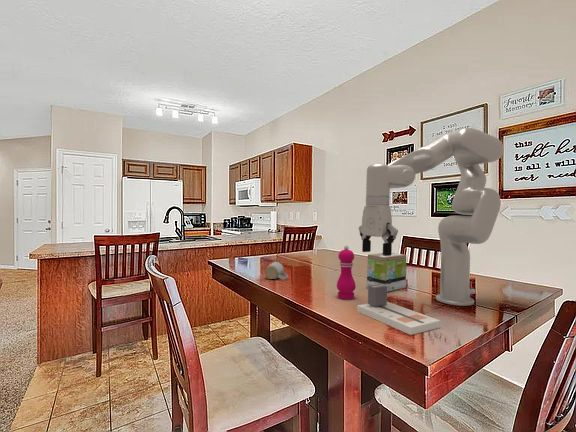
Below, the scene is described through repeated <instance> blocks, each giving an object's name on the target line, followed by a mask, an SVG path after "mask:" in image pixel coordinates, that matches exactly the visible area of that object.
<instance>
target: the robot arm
mask: <svg viewBox="0 0 576 432" xmlns="http://www.w3.org/2000/svg"><path fill="white" fill-rule="evenodd" d="M504 149H505V147H504V144H503V142H502V141H501V140H500V138H498V137H496V136H493V135H491V134H489V133H487V132H484V131H482V130H480V129H476V128H473V127H462V128H459V129H456V130H451V131H448V132H446V133H443V134H441V135H440V136H438V137H436V138H435V139H432V140H431V141H430V142H428V143H426V144H425V145H423V146H422V147H420V148H418V149H415V150H414V151H411V152H410V153H408V154H406V155H403V156H402V157H399V158H398V159H396V160H393V161H392V162H390V163H388V164H384V163H377V164H370V165H368V166H367V168H366V177H365V178H366V181H365V182H366V185H365V187H366V188H365V206H364V208H363V210H362V211H363V212H362V218H361V225H360V226H359V227H358V231H359V236H360V237H361V238H360V239H361V241H362V242H361V243H362V244H361V245H362V247H361V248H362V253H369V252H371V250H372V249H371V247H372V246H371V245H372V241H371V238H372V237H377V238H378V237H381V239H382V240H383V242H384V243H382V253H383V256H391V254H392V253H393V252H392V250H393V249H392V247H393V246H392V245H393V244H394V241H395V240H396V239H397V236H398V233H399V230H398V229H397V227H394V226H393V217H392V210H391V208H392V207H391V206H390V194H391V192H390V191H391V190H390V189H400V188H401V189H402V188H406V187H409V186H411V185H412V184H413V183H414V181H415V179H416V175H417V174H421V173H425V172H427V171H430V170H433V169H434V168H436V167H438V166H439V165H441V164H442V163H444V162H446V161H447V160H449V159H450V158H451V157H454V161H455V163H456V165H457V167H458V169H459V171H460V172H459V173H460V179H459V183H458V186H457V188H456V190H455V193H454V196H453V199H452V202H451V208H452V210H453V211H454V212H455V213H456V214H459V215H449V216H446V217H444V218H442V219H441V220H440V221H439V223H438V225H437V226H438V228H437V231H438V235H439V242H440V289H439V290H440V292H439V294H438V293H437V294H436V295H435V299H436V301H438V302H439V303H442V304H443V303H444V304H447V305H451V306H459V307H460V306H461V307H462V306H463V307H464V306H465V307H466V306H473V305H474V304H475V300H474V298H472V297H471V295H475V294H476V289H475V288H470V279H471V277H470V276H471V274H470V273H471V270H470V267H471V254H470V253H471V252H470V250H469V247H468V246H467V244H471V245H472V244H474V245H481V244H483V243H485V242H487V241H488V240H489V238H490V237H491V234H492V233H493V229H494V226H495V225H496V224H495V223H496V221H497V218H498V215H499V213H500V209H501V196H500V194H499V192H498V191H496V190H495V189H493V188H488V187H486V183H487V176H486V174H485V172H484V171H483V169H482V167H481V166H480V165H482V164H489V163H493V162H496V161H498V160H499V159H501V158H502V156H503V155H504Z"/></svg>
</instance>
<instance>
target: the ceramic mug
mask: <svg viewBox="0 0 576 432" xmlns="http://www.w3.org/2000/svg"><path fill="white" fill-rule="evenodd" d="M264 274H265V277H266V278H267V279H268V280H270V279H274V280H276V279H280V280H283V281H286V280H287V279H288V277H289V276H288V274H287V273H286V272H285V269H284V265H283V264H282V263H280V262H279V261H273V262H272V263H270V264H269V265H268V266H267V267H266V268H265V269H264Z"/></svg>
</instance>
